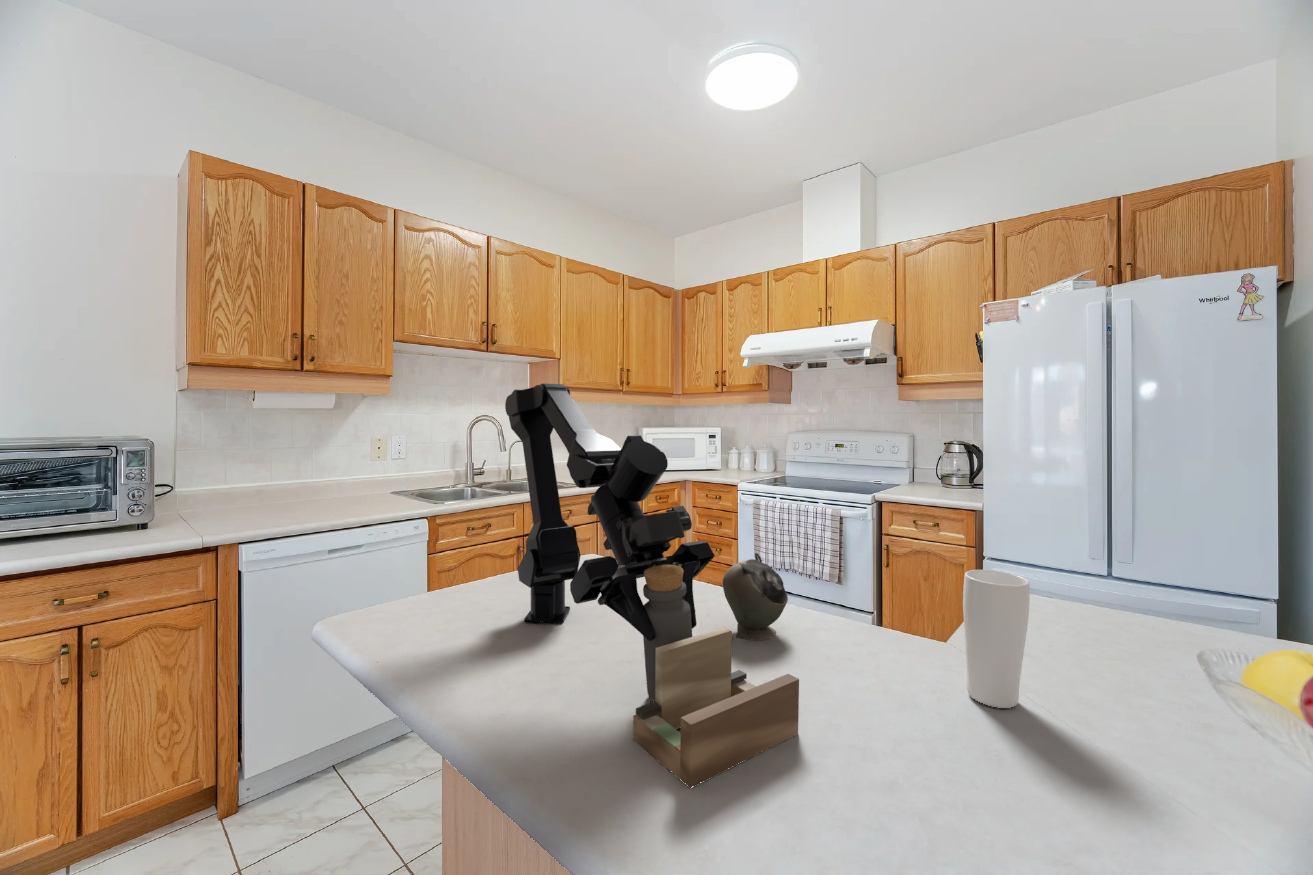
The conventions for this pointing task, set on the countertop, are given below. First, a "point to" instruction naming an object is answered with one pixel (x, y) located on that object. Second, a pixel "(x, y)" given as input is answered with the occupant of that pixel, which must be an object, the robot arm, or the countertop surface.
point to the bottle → (664, 614)
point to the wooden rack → (723, 730)
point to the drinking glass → (995, 635)
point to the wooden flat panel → (692, 676)
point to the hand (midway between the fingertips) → (673, 632)
